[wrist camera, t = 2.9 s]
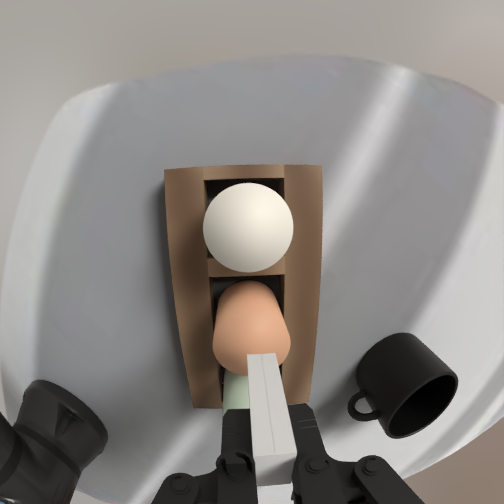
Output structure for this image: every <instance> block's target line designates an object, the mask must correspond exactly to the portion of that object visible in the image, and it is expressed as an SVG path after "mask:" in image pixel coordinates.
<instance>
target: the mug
mask: <svg viewBox="0 0 504 504" xmlns="http://www.w3.org/2000/svg"><path fill="white" fill-rule="evenodd" d="M357 384H358V386H359V388H360V391H359V392H358V393H356V394H355V395H353V396H352V398H351V399H350V400H349V403H348V413H349V415H350V416H351V417H352V418H353V419H355V420H358V421H371V420H376V419H378V421H379V423H380V424H381V426H382V428H383V430H384V431H385V433H386V435H387V436H389V437H390V438H394V439H400V438H405V437H408V436H411V435H413V434H415V433H417V432H419V431H421V430H422V429H424V428H425V427H427V426H428V425H430V424H431V423H432V422H433V421H434V420H436V419H437V418H438V417H439V416H440V415H441V414H442V413H443V411H444V410H445V409H446V408H447V407H448V405H449V404H450V402H451V401H452V399H453V397H454V395H455V393H456V390H457V387H458V377H457V375H456V374H455V373H454V372H453V371H452V370H451V369H450V368H449V367H448V366H447V365H446V364H445V363H444V362H443V361H442V360H441V359H440V358H439V357H438V356H437V355H435V354H434V353H433V352H432V351H431V350H430V349H429V348H428V347H427V346H426V345H425V344H424V343H422V342H421V341H420V340H419V339H418V338H417V337H416V336H414V335H413V334H410V333H397V334H393V335H391V336H388V337H386V338H384V339H383V340H381V341H380V342H378V343H377V344H376V345H375V346H374V347H373V348H372V349H371V350H370V351H369V352H368V353H367V354H366V355H365V357H364V358H363V360H362V362H361V364H360V366H359V368H358V372H357ZM361 398H366V400H367V402H368V404H369V405H370V407H371V409H372V410H373V411H372V413H367V414H363V413H360V412H358V411H357V410H356V409H355V403H356V402H357V401H358V400H359V399H361Z"/></svg>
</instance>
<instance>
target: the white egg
mask: <svg viewBox="0 0 504 504" xmlns="http://www.w3.org/2000/svg"><path fill="white" fill-rule="evenodd" d="M203 234H204V239H205V243H206V245H207V247H208V249H209V251H210V253H211V254H212V255H213V257H214V258H215V259H216V260H217V261H218V262H220V263H221V264H222V265H224V266H226V267H227V268H230V269H232V270H235V271H239V272H257V271H261V270H264V269H266V268H268V267H270V266H272V265H273V264H275V263H276V262H277V261H279V260H280V259H281V258H282V256H283V255H284V254H285V253H286V251H287V250H288V247H289V245H290V243H291V240H292V236H293V219H292V215H291V212H290V209H289V207H288V205H287V204H286V202H285V201H284V200H283V199H282V197H281V196H280V195H279V194H277V193H276V192H275V191H273V190H272V189H270V188H268V187H266V186H263V185H260V184H255V183H242V184H237V185H234V186H231V187H229V188H227V189H225V190H223V191H222V192H221V193H219V194H218V195H217V196H216V197H215V198H214V199H213V201H212V202H211V203H210V205H209V207H208V209H207V211H206V213H205V217H204V222H203Z"/></svg>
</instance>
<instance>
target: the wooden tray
mask: <svg viewBox="0 0 504 504" xmlns="http://www.w3.org/2000/svg"><path fill="white" fill-rule="evenodd" d="M164 178H165V203H166V220H167V234H168V246H169V257H170V267H171V276H172V285H173V293H174V301H175V308H176V315H177V322H178V329H179V335H180V341H181V347H182V353H183V358H184V363H185V369H186V374H187V379H188V384H189V388H190V393H191V398H192V402H193V407H194V408H223V391H224V384H222V376H221V367H220V363H219V362H218V360H217V359H216V357H215V355H214V352H213V337H214V330H215V322H216V316H215V304H214V291H213V278H212V277H231V276H256V275H279V308H280V311H281V313H282V316H283V319H284V322H285V324H286V327H287V330H288V333H289V335H290V342H291V344H290V350H289V353H288V355H287V357H286V359H285V360H284V361H283V362H282V364H280V365H279V371H280V376H281V380H282V385H283V389H284V394H285V399H286V403H287V405H288V404H297V403H305V402H309V395H310V388H311V380H312V372H313V364H314V355H315V345H316V335H317V323H318V311H319V296H320V279H321V258H322V213H323V193H322V166H319V165H227V166H207V167H191V168H178V169H167V170H164ZM252 179H278V194H279V195H280V196H281V197H282V199H283V200H284V201H285V202H286V204H287V205H288V207H289V209H290V212H291V215H292V219H293V236H292V240H291V243H290V245H289V247H288V250H287V251H286V253H285V254H284V255H283V256H282V258H281V259H280V260H279V261H277V262H276V263H275V264H273V265H272V266H270V267H268V268H266V269H264V270H261V271H257V272H239V271H235V270H232V269H230V268H227V267H226V266H224V265H222V264H221V263H220V262H218V261H217V260H216V259H215V258H214V257H213V255H212V254H211V253H210V251H209V249H208V247H207V245H206V243H205V239H204V234H203V222H204V217H205V213H206V211H207V209H208V207H209V205H208V181H221V180H252Z"/></svg>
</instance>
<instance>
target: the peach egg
mask: <svg viewBox="0 0 504 504" xmlns="http://www.w3.org/2000/svg"><path fill="white" fill-rule="evenodd" d="M290 344H291V342H290V335H289V333H288V330H287V327H286V324H285V322H284V319H283V316H282V313H281V311H280V308H279V305H278V302H277V300H276V297H275V295H274V293H273V292H272V290H271V289H270V288H269V287H268V286H266V285H265V284H263V283H261V282H258V281H255V280H242V281H238V282H235V283H233V284H231V285H230V286H228V287H227V288H226V289H225V290H224V291H223V293H222V294H221V296H220V298H219V301H218V308H217V315H216V322H215V330H214V337H213V352H214V355H215V357H216V359H217V360H218V362H219V363H220V364H221V365H222V366H223V367H224V368H226V369H227V370H229V371H231V372H233V373H235V374H238V375H243V376H248V364H247V354H267V353H276V357H277V362H278V366H279V365H280V364H282V362H283V361H284V360H285V359H286V357H287V355H288V353H289V350H290Z"/></svg>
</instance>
